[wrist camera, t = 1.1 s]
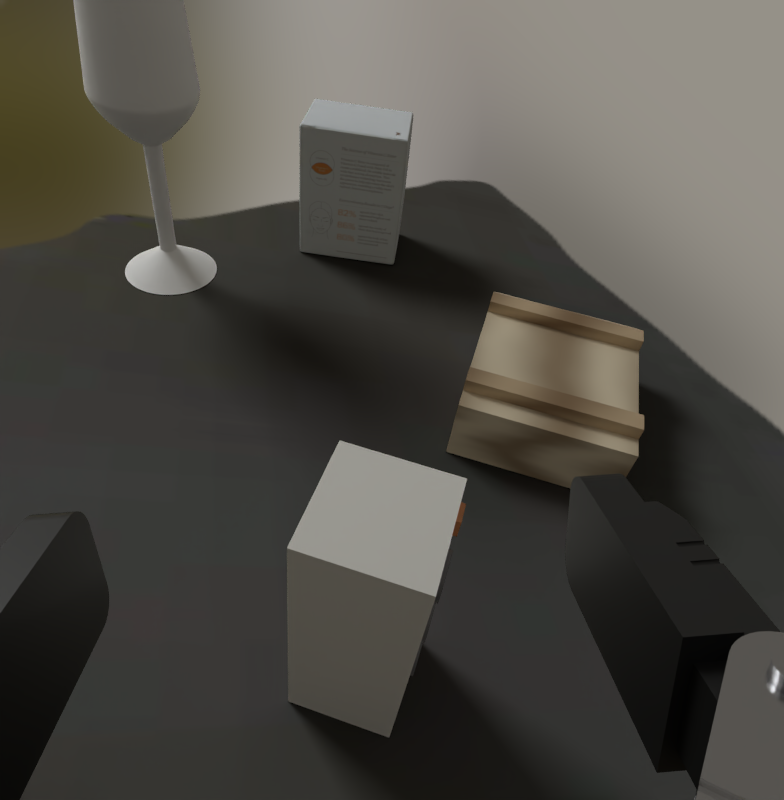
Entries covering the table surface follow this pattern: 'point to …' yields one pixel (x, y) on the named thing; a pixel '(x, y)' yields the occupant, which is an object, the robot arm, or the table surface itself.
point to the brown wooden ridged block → (551, 394)
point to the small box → (353, 180)
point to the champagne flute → (146, 113)
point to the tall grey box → (367, 582)
